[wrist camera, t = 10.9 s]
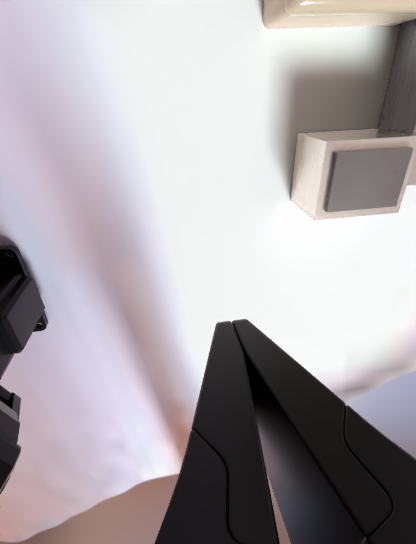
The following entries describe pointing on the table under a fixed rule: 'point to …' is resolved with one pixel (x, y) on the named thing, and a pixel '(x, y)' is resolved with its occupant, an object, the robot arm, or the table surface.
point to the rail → (363, 152)
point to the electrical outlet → (337, 13)
